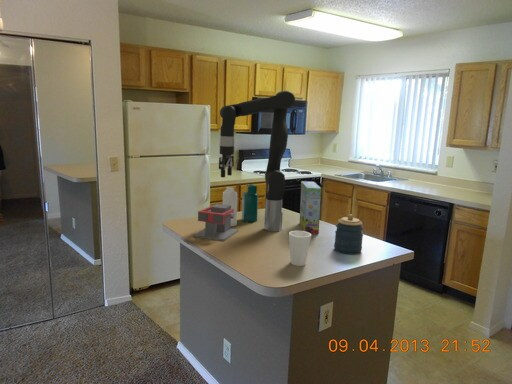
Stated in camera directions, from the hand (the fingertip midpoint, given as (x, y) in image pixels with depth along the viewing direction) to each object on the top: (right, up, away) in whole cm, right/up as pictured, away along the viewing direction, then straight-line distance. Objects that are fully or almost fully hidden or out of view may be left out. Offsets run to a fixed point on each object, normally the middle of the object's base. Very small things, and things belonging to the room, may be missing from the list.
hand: (226, 176), depth 199 cm
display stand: (-5, -30, +1) cm, 31 cm away
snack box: (+45, -29, +18) cm, 57 cm away
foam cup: (+34, -39, -36) cm, 63 cm away
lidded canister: (+59, -36, -17) cm, 72 cm away
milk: (0, -27, +19) cm, 33 cm away
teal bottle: (+12, -26, +30) cm, 41 cm away
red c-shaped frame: (-5, -22, -2) cm, 23 cm away
